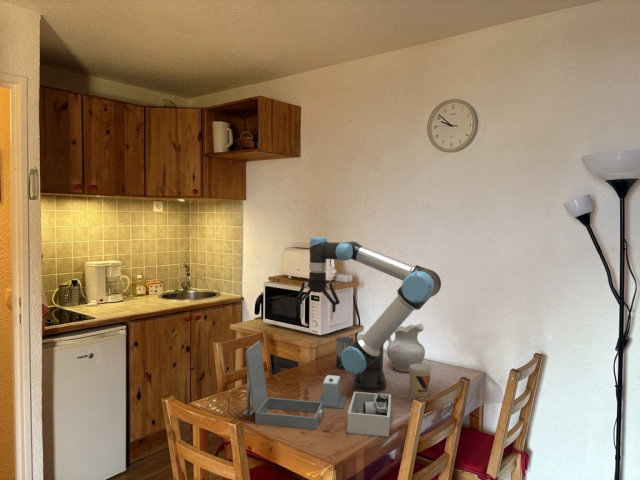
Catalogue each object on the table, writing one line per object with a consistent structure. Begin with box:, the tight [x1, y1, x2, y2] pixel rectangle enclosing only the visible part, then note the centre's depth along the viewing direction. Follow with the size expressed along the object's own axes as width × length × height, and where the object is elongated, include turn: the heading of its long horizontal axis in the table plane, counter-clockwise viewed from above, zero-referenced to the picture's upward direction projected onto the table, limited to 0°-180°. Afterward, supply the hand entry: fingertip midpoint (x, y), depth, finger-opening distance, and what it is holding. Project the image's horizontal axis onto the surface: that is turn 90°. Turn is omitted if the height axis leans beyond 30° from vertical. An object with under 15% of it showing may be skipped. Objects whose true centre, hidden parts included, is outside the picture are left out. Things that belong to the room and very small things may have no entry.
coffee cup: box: [408, 363, 432, 398], centre depth 207 cm, size 9×9×12 cm
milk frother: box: [335, 336, 355, 371], centre depth 245 cm, size 14×16×15 cm
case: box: [254, 396, 324, 430], centre depth 179 cm, size 23×16×4 cm
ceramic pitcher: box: [386, 323, 426, 373], centre depth 242 cm, size 22×20×25 cm
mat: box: [317, 395, 347, 410], centre depth 195 cm, size 11×11×1 cm
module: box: [321, 374, 342, 407], centre depth 195 cm, size 6×10×10 cm, turn 170°
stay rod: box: [241, 372, 255, 417], centre depth 182 cm, size 4×4×24 cm
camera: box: [362, 393, 388, 416], centre depth 178 cm, size 16×9×10 cm, turn 179°
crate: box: [346, 391, 392, 438], centre depth 177 cm, size 15×22×7 cm
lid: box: [244, 340, 268, 413], centre depth 181 cm, size 23×16×1 cm
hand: (316, 318), depth 213 cm, fingers open, 13 cm apart
